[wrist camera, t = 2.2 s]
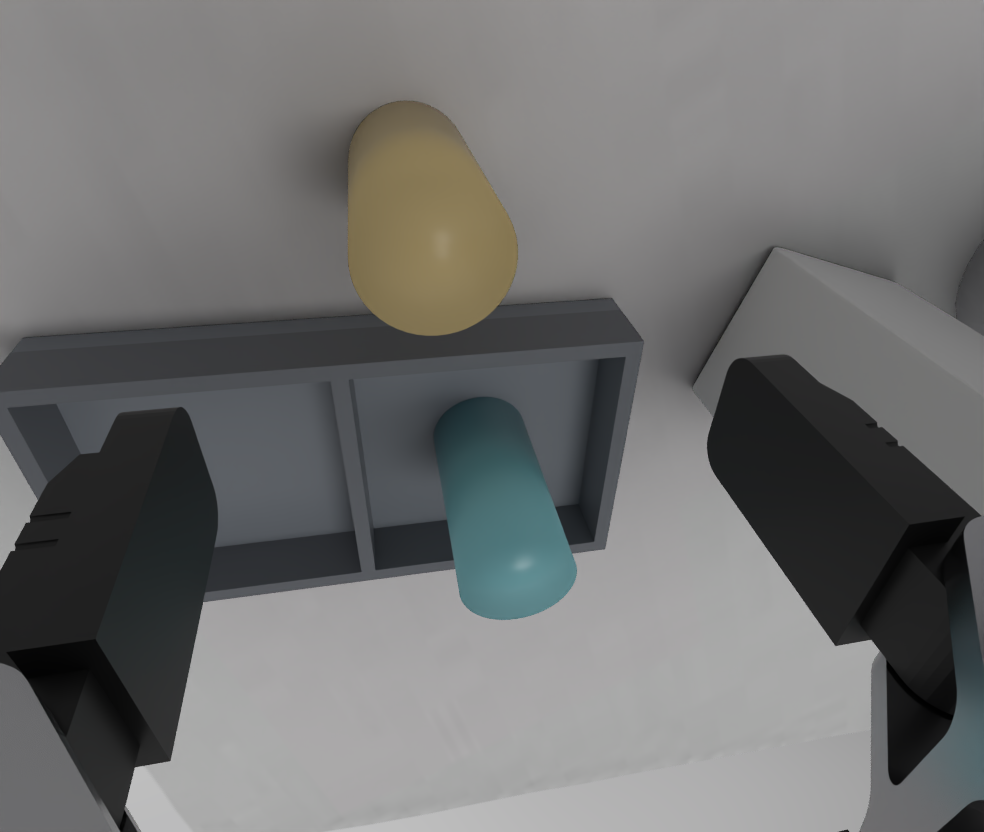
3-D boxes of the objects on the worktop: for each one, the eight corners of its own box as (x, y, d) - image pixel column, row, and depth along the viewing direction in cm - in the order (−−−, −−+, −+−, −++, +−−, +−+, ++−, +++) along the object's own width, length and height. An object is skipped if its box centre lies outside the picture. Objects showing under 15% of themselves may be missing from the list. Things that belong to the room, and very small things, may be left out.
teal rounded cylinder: (526, 392, 26) (582, 533, 20) (522, 464, 29) (570, 611, 22) (431, 401, 26) (458, 549, 19) (435, 474, 28) (460, 627, 22)
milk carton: (806, 410, 31) (1221, 832, 16) (687, 387, 29) (1046, 854, 14) (898, 281, 28) (1544, 677, 13) (771, 243, 25) (1378, 672, 10)
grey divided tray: (612, 298, 25) (644, 341, 23) (583, 497, 32) (604, 549, 29) (23, 337, 22) (-24, 393, 19) (127, 551, 29) (104, 615, 26)
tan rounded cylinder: (467, 99, 20) (521, 170, 14) (468, 222, 23) (514, 329, 16) (341, 101, 20) (337, 176, 13) (355, 227, 22) (358, 341, 16)
